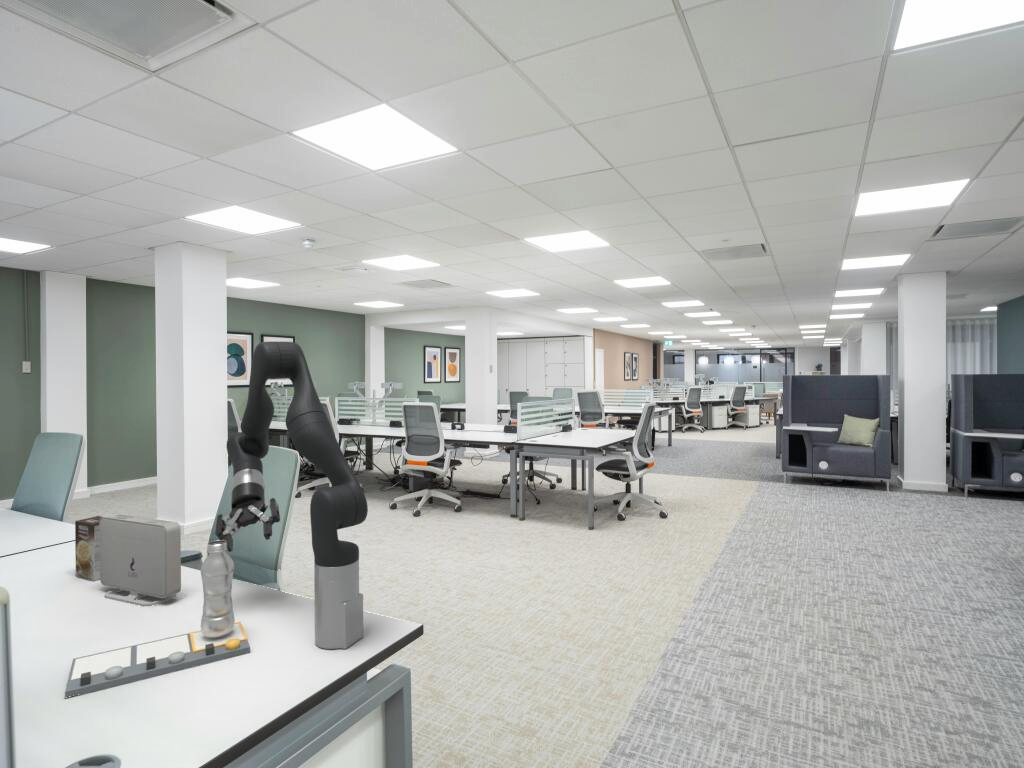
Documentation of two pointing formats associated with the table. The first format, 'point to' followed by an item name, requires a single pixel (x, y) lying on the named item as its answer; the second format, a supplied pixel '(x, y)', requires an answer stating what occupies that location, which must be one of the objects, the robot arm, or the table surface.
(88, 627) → the table surface
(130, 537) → the network device
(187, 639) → the board
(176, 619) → the table surface
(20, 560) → the table surface
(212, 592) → the plastic bottle
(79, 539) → the coffee box
